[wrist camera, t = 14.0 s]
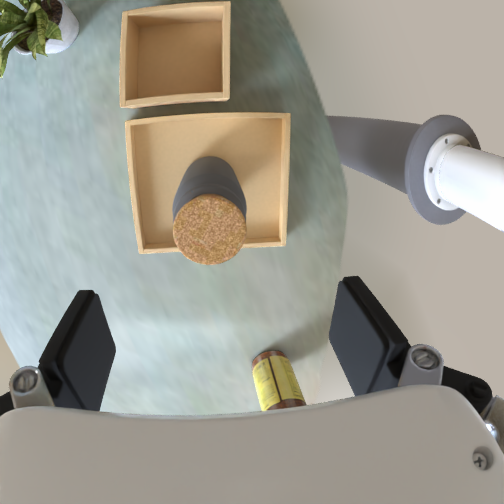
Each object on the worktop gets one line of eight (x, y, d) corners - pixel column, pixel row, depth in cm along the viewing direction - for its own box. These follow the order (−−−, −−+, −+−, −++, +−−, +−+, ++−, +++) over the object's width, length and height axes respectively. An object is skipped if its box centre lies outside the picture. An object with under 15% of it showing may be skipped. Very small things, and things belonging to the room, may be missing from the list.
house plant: (7, 105, 24) (-83, 119, 9) (15, 12, 18) (-60, -11, 3) (100, 80, 25) (20, 61, 11) (110, -20, 19) (57, -83, 5)
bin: (227, 18, 24) (230, 1, 20) (226, 101, 29) (229, 98, 24) (135, 25, 23) (122, 11, 18) (133, 108, 28) (119, 107, 23)
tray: (285, 113, 30) (290, 113, 28) (282, 239, 37) (285, 246, 35) (129, 120, 28) (124, 120, 26) (142, 246, 35) (139, 254, 33)
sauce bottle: (254, 377, 47) (276, 481, 30) (247, 353, 45) (269, 467, 27) (292, 368, 48) (325, 469, 30) (288, 343, 45) (325, 453, 27)
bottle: (246, 182, 33) (274, 232, 19) (209, 217, 34) (209, 288, 20) (210, 144, 30) (210, 166, 17) (172, 181, 31) (145, 232, 18)
